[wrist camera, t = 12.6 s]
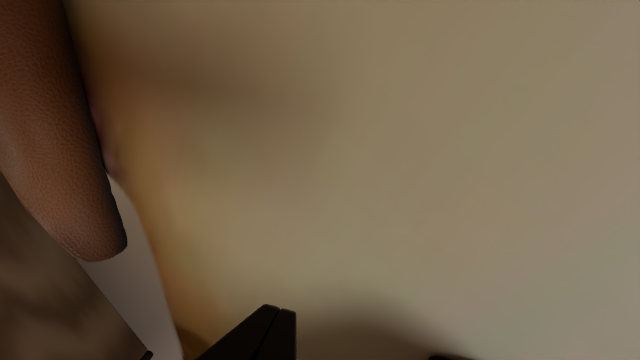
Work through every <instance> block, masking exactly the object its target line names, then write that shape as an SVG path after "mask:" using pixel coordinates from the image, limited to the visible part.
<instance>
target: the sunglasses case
mask: <svg viewBox="0 0 640 360" xmlns="http://www.w3.org/2000/svg"><path fill="white" fill-rule="evenodd" d="M0 170H1V172H2V173H3V175H4V176H5V178H6V179H7V181H8V183H9V184H10V186H11V187H12V189H13V190H14V192H15V194H16V195H17V197H18V199H19V200H20V203H21V204H22V206H23V207H24V209H25V211H26V212H27V213H28V214H30V215H31V216H32V217H34V218H35V219H36V220H37V221H38V222H39V223H40V224H41V225H42V227H43V228H44V229H46V230H47V232H48V233H49V234H50V235H51V236H52V237H53V238H54V239H55V240H56V241H57V242H58V243H59V244H60V245H61V246H62V247H63V248H64V249H66V250H67V251H68V252H69V253H70V254H71V255H72V256H73V257H74V258H76V259H78V260H81V261H85V262H98V261H103V260H106V259H110V258H112V257H114V256H115V255H117V254H119V253H121V252H122V251H123V250H124V249H125V248H126V247H127V236H126V232H125V229H124V227H123V223H122V219H121V216H120V214H119V211H118V208H117V205H116V201H115V198H114V196H113V195H112V192H111V186H110V183H109V180H108V177H107V174H106V172H105V169H104V167H103V164H102V158H101V153H100V149H99V146H98V142H97V137H96V133H95V129H94V125H93V122H92V118H91V115H90V111H89V108H88V105H87V101H86V98H85V95H84V89H83V84H82V79H81V75H80V71H79V67H78V63H77V60H76V56H75V52H74V48H73V44H72V41H71V37H70V33H69V29H68V24H67V20H66V15H65V11H64V7H63V3H62V0H0Z"/></svg>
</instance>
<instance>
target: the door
mask: <svg viewBox="0 0 640 360" xmlns="http://www.w3.org/2000/svg"><path fill="white" fill-rule="evenodd" d="M146 350H147V348H146V347H145V346H144V344H143V343H142V342H141V341H140V339H139V338H138V337H137V336H136V334H135V333H134V332H133V331H132V330H131V328H130V327H129V326H128V324H127V323H126V322H125V321H124V320H123V318H122V317H121V316H120V314H119V313H118V312H117V311H116V309H115V308H114V307H113V306H112V305H111V303H110V302H109V301H108V300H107V298H106V297H105V296H104V294H103V293H102V292H101V291H100V289H99V288H98V287H97V286H96V284H95V283H94V282H93V281H92V280H91V278H90V277H89V276H88V275H87V274H86V272H85V271H84V269H83V268H82V267H81V266H80V264H79V263H78V262H77V261H76V260H75V258H74V257H73V256H72V255H71V254H70V253H69V252H68V251H67V250H66V249H64V248H63V247H62V246H61V245H60V244H59V243H58V242H57V241H56V240H55V239H54V238H53V237H52V236H51V235H50V234H49V233H48V232H47V230H46V229H44V228H43V227H42V225H41V224H40V223H39V222H38V221H37V220H36V219H35V218H34V217H32V216H31V215H30V214H28V213H27V212H26V211H25V209H24V207H23V206H22V204H21V203H20V200H19V199H18V197H17V195H16V194H15V192H14V190H13V189H12V187H11V186H10V184H9V183H8V181H7V179H6V178H5V176H4V175H3V173H2V172H1V170H0V360H139V359H140V358H141V357H142V355H143V354H144V353H145V351H146Z"/></svg>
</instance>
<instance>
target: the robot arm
mask: <svg viewBox="0 0 640 360" xmlns="http://www.w3.org/2000/svg"><path fill="white" fill-rule="evenodd" d="M195 360H296V312H294V311H291V310H287V309H283V308H282V309H280V308H279V307H276V306H272V305H269V304H264V305H262V306H261V307H260V308H259V309H257V310H256V311H255V312H254V313H252V314H251V315H250V316H249V317H247V318H246V319H245V320H244V321H242V322H241V323H240V324H239V325H237V326H236V327H235V328H234V329H232V330H231V331H230V332H229V333H227V334H226V335H225V336H224V337H222V338H221V339H220V340H219V341H218V342H216V343H215V344H214V345H213V346H211V347H210V348H209V349H208V350H206V351H205V352H204V353H203V354H201V355H200V356H199V357H198V358H196V359H195ZM428 360H448V359H445V358H442V357H438V356H432V357H430V358H429V359H428Z"/></svg>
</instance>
